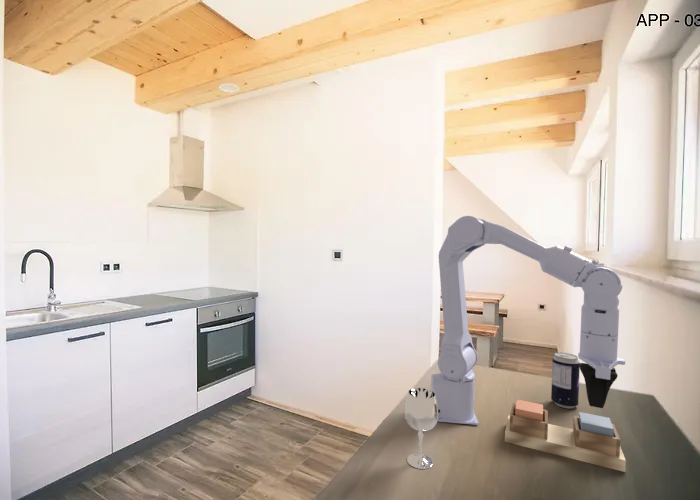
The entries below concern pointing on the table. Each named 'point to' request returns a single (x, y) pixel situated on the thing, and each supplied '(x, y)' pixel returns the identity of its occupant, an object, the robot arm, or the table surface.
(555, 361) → the beverage can
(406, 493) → the table surface
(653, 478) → the table surface
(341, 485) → the table surface
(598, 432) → the slate key
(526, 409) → the terracotta key
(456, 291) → the robot arm
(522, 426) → the wooden socket board
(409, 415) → the wineglass
